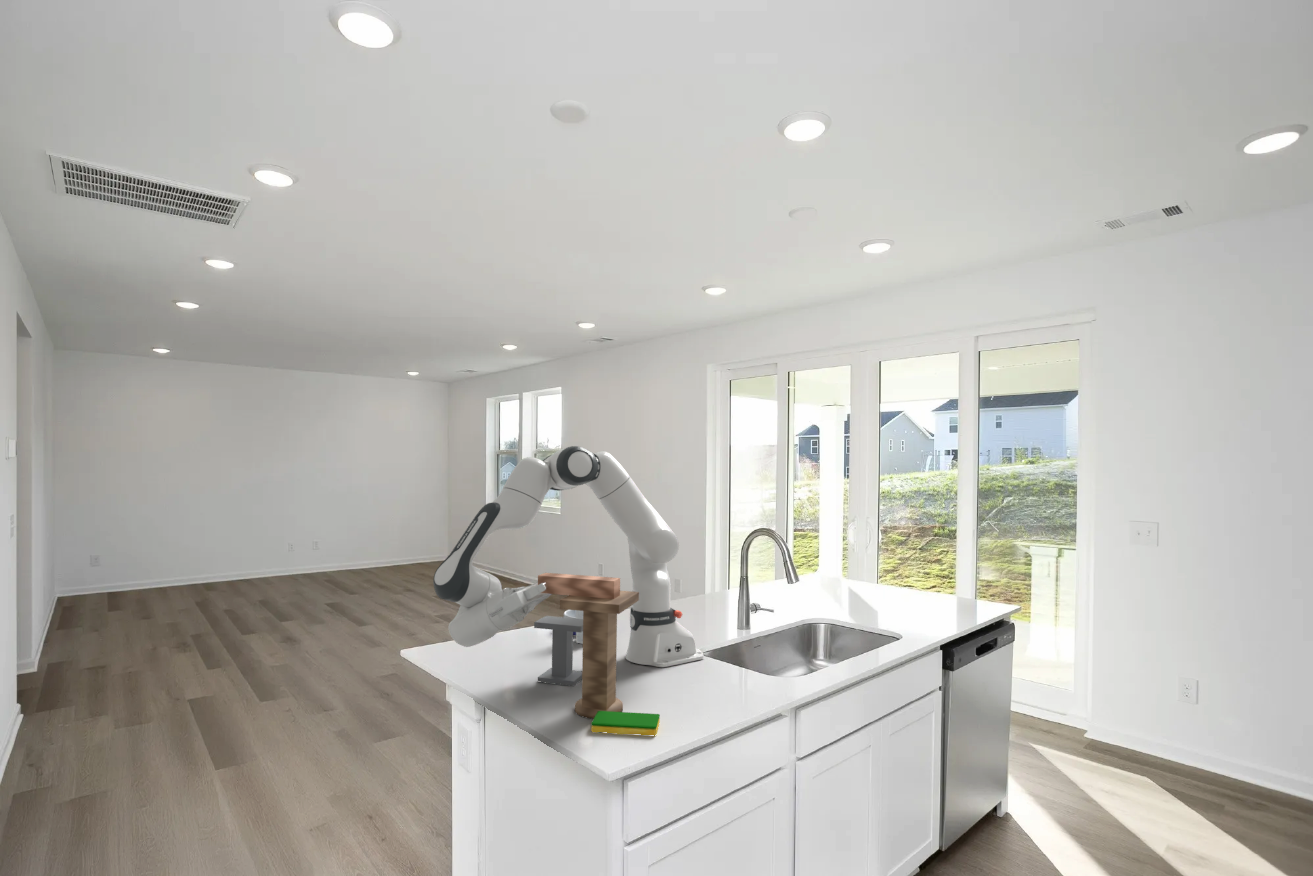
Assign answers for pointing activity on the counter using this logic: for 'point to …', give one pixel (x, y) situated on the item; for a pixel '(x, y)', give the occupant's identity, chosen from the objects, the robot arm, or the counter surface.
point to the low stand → (561, 649)
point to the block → (580, 585)
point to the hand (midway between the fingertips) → (554, 581)
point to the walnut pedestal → (599, 650)
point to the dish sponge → (625, 723)
